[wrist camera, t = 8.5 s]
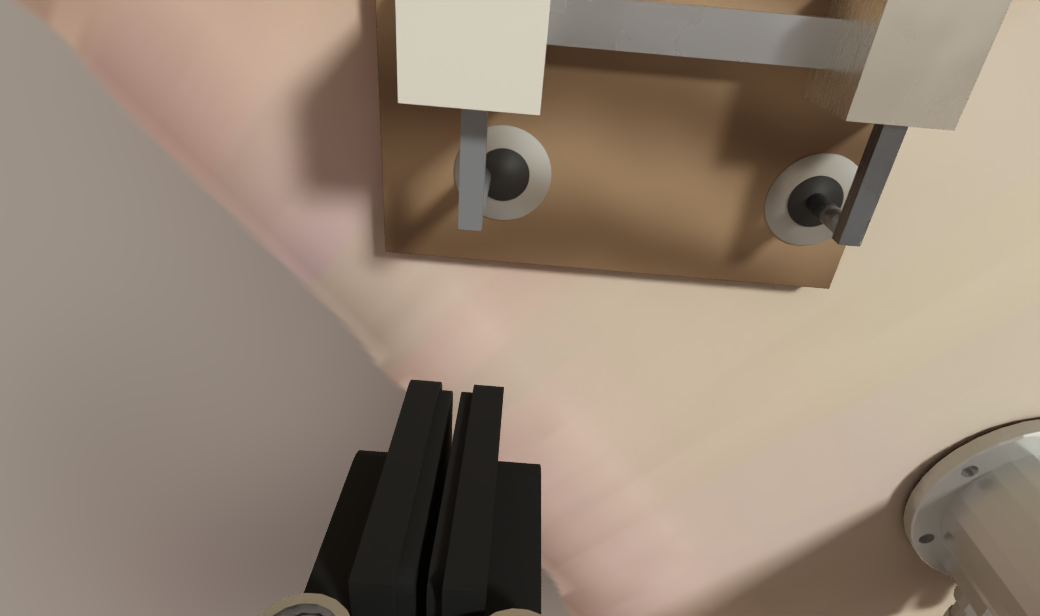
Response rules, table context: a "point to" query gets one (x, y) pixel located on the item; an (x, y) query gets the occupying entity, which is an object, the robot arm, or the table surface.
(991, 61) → the table surface
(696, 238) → the hole board
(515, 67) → the sliding leg
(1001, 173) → the table surface
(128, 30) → the table surface
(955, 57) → the beam
